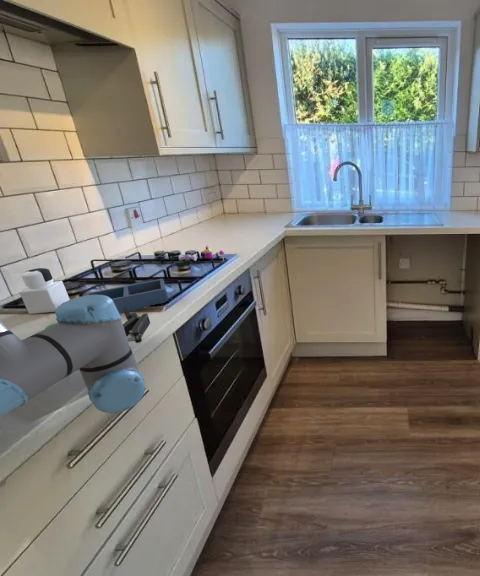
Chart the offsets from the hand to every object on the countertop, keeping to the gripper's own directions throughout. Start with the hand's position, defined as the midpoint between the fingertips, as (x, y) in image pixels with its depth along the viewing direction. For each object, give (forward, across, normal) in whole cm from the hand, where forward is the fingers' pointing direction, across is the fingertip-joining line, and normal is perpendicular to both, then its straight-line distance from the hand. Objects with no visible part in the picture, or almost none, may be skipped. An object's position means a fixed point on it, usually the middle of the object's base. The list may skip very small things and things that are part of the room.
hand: (92, 321), depth 85 cm
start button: (+9, -7, -4) cm, 11 cm away
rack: (+22, +10, -6) cm, 25 cm away
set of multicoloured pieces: (+52, +43, -6) cm, 67 cm away
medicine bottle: (+37, -8, -7) cm, 39 cm away
